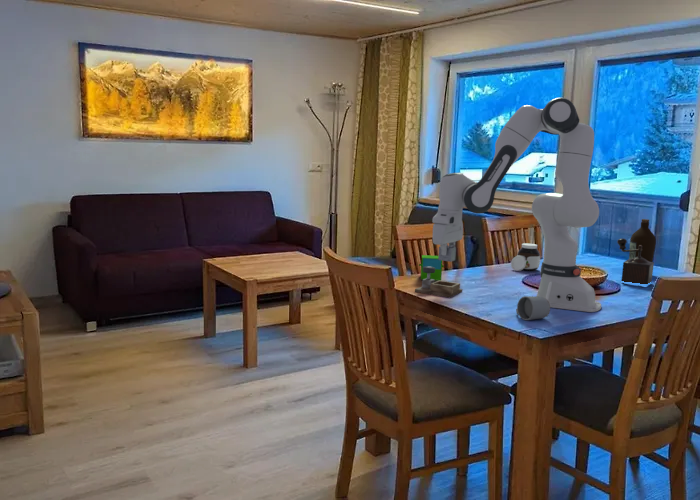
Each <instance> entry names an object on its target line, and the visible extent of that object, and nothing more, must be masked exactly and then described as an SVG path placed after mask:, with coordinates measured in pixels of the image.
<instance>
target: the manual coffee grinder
mask: <svg viewBox="0 0 700 500" xmlns="http://www.w3.org/2000/svg"><path fill="white" fill-rule="evenodd" d="M627 243H628V241H627V239H626V238H619V239H617V245H618V246H619V248H618V249H619V250H621V252H624V253H625V252H626V253H629V252H634V251H639V254H638V257H635V258H632V259H629V258H628V259H626V260H625V261H623V263H622V272H621V273H622V274H621V281H624V282H632V283H640V284H648V283H650V282H651V281H652V280H653V275H654V274H653V271H654V267H655V262H649V261H647V260H646V259H644V258H642V256H641V250H642V245H639V248H638V249H636V250H630V249H627V247H626V244H627ZM621 281H620V282H621ZM651 283H652V282H651Z"/></svg>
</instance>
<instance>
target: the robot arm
mask: <svg viewBox="0 0 700 500" xmlns="http://www.w3.org/2000/svg"><path fill="white" fill-rule="evenodd" d="M594 131H595V130H594V129H593V128H592V127H591V126H590V125H588V124H587V123H583V122H580V117H579V114H578V112H577V108H576V107H575V105H574V103H573V102H572V101H571V100H570V99H567V98H565V97H556V98H553V99H551V100H550V101H548V102H547V103H546V104H545V106H544V108H537V107H535V106H533V105H528V104H526V105H522V106H521V107H519V108H518V109H517V110H516V111H515V112H514V113H513V115H512V116H511V117H510V118H509V120H508V121H507V122H506V124H505V125H504V126H503V128H502V129H501V131H500V133H499V135H498V137H497V138H496V141H495V145H494V150H495V151H494V156H493V160H491V163H490V164H489V166H488V168H487V169H486V171H485V172H484V174H483V175H482V177H481V178H480V179H479V181H478V182H477V181H475V180H472V179H471V178H469V177H467V176H466V175H465V174H464V173H463V172H451V173H447V174H444V175H443V176H442V178H441V180H440V184H439V191H438V198H439V204H438V207H437V208H438V209H437V212H436V214H435V215H434V216H433V217H432V219H431V220H432V221H431V222H432V223H433V225H432V243H433V244H434V245H438V246H439V247H441V250H442V251H441V255H447V252H448V250H447V247H446V246H447V245H448V246H449V245H452V247H456V242H458V241H461V240H462V239H463V237H464V223H463V209H464V208H466V209H467V210H468V211H470V212H471V213H473V214H483V213H484V214H485V212H488V211H489V210H490V209H491V207H492V206H493V204H494V202H495V201H494V200H495V196H496V195H495V194H496V191H497V189H498V188H499V186H500V184H501V182H502V181H503V180H504V177H505V176H506V175H507V173H508V171H509V170H510V168H511V167H512V166H513V165H514V163H516V161H517V160H518V159H519V158H520V157H521V156H522V155H523V154H524V152H526V150H527V149H528V147H529V146H530V145H531V143H532V141H533V140H534V138H536V136H537V134H539V132H541V133H545V134H548V135H555V136H557V135H559V137H560V147H559V153H558V156H557V163H556V167H555V177H556V179H558V181H559V182H560V183H561V185H562V190H563V191H562V193H558V192H546V193H541V194H538V195H537V196H536V197H534V199H533V201H532V205H531V212H532V215H533V217H534V218H535V220H537V222H538V224H539V226H540V228H541V231H542V235H543V241H544V243H543V244H544V245H543V260H542V262H541V266H540V282H539V287H538V290H537V293H536V296H539V297H544V298H546V299H547V300H548V302H549V304H550V308H553V309H563V310H571V311H579V312H588V313H594V312H598V311H600V310H601V309H602V303H600V302H599V301H596V292H595V289H594V287H592V285H590V283H588V282H587V281H586V280H585V279H584V278H582V276H581V274H582V267H581V266H578V265H576V263H577V254H578V253H577V252H578V242H577V241H576V240H575V238H573V237H572V235H571V234H570V231H569V228H570V227H571V228H589V227H592V226H594V224H595V223H596V222H597V221H598V219H599V216H600V208H599V204H598V203H597V201H596V200H595V199H594V198H593V195H592V194H591V190H590V186H589V177H590V176H589V175H590V170H591V163H592V158H593V154H594V153H593V152H594V144H595V132H594ZM568 227H569V228H568Z"/></svg>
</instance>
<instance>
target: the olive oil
mask: <svg viewBox="0 0 700 500" xmlns="http://www.w3.org/2000/svg"><path fill="white" fill-rule="evenodd" d="M649 227H650V219H648V218H647V219H646V218H642V219H641V221H640V227H639V228H638V229H637V230H636V231H634V232H633V233H632V234H631V237H630V239H629V250H636V249H638V248H639V245H642V250H641V256H642V258H644V259H646V260H647V261H649V262H653V261H654V255H655V250H656V246H657V239H656V235H655V234H654V233H653V232H652V231H651V229H650V228H649ZM628 254H629V255H628V259H632V258H635V257H638V254H639V251H634V252H628Z"/></svg>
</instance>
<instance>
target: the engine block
mask: <svg viewBox="0 0 700 500" xmlns="http://www.w3.org/2000/svg"><path fill="white" fill-rule="evenodd" d="M446 247H447V250H448V252H447V255H441V251H442V250H441V247H440V246H439V247H438V256H439V257H438V260H442V262H443V261H444V262H451V263H452V262H454V261H456V252H457V247H456V246H454V247H452V245H449V244H447V246H446Z"/></svg>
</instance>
